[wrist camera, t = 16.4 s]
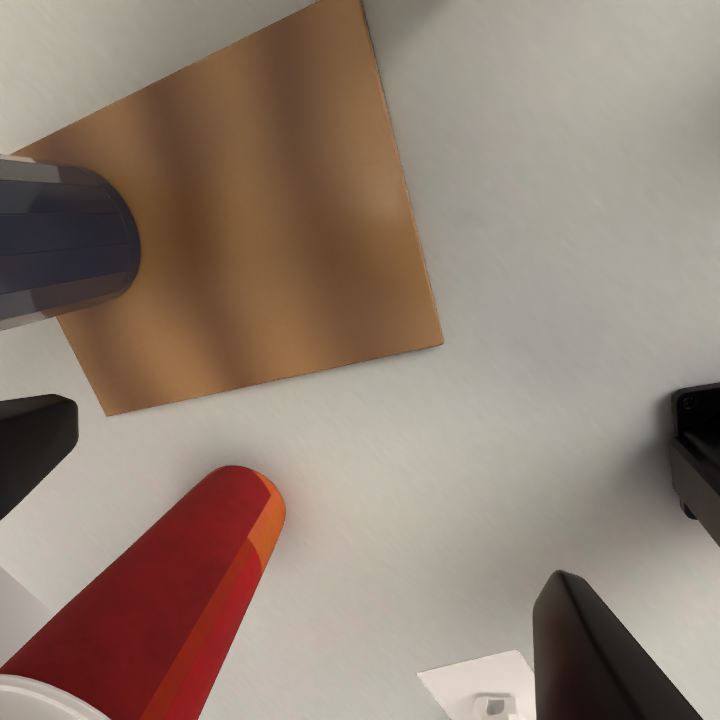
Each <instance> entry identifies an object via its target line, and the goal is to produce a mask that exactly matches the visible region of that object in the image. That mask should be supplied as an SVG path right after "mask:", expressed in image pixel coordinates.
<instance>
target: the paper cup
mask: <svg viewBox="0 0 720 720" xmlns="http://www.w3.org/2000/svg"><path fill="white" fill-rule="evenodd" d="M284 521H285V505H284V502H283V499H282V497H281V495H280V493H279V491H278V490H277V489H276V487H275V486H274V485H273V484H272V483H271V482H270V481H269V480H268V479H267V478H265V477H264V476H263V475H261V474H260V473H258V472H256V471H254V470H251V469H249V468H245V467H241V466H225V467H221V468H218V469H216V470H215V471H213V472H211V473H210V474H209V475H208V476H206V477H205V478H204V479H203V480H202V481H201V482H199V483H198V484H197V485H196V486H195V487H194V488H193V489H192V490H190V491H189V492H188V493H187V494H186V495H185V496H184V497H183V498H182V499H181V500H180V501H179V502H177V503H176V504H175V505H174V506H173V507H172V508H171V509H170V510H169V511H168V512H167V513H166V514H165V515H163V516H162V517H161V518H160V519H159V520H158V521H157V522H156V523H155V524H154V525H153V526H152V527H151V528H150V529H149V530H147V531H146V532H145V533H144V534H143V535H142V536H141V537H140V538H139V539H138V540H137V541H136V542H135V543H134V544H132V545H131V546H130V547H129V548H128V549H127V550H126V551H125V552H124V553H123V554H122V555H121V556H119V557H118V558H117V559H116V560H115V561H114V562H113V563H112V564H111V565H110V566H108V567H107V568H106V569H105V570H104V571H103V572H102V573H101V574H100V575H99V576H97V577H96V578H95V579H94V580H93V581H92V582H91V583H90V584H89V585H88V586H86V587H85V588H84V589H83V590H82V591H81V592H80V593H79V594H78V595H76V596H75V597H74V598H73V599H72V600H71V601H70V602H69V603H68V604H67V605H65V606H64V607H63V608H62V609H61V610H60V611H59V612H58V613H57V614H56V615H55V616H54V617H53V618H52V619H51V620H50V621H49V622H48V623H47V624H46V625H45V626H44V627H43V628H42V629H41V630H39V632H37V633H36V635H34V636H33V637H32V638H31V639H30V640H29V641H28V642H27V643H26V644H25V645H24V646H23V647H22V648H21V649H20V650H19V651H18V652H17V653H16V654H15V655H14V656H13V657H11V658H10V659H9V660H8V661H7V662H6V663H5V664H4V665H3V666H2V667H1V668H0V720H198V718H199V716H200V714H201V711H202V709H203V707H204V705H205V702H206V700H207V698H208V696H209V693H210V691H211V689H212V687H213V685H214V682H215V680H216V678H217V676H218V673H219V671H220V669H221V667H222V664H223V662H224V660H225V658H226V655H227V653H228V651H229V649H230V647H231V644H232V642H233V640H234V638H235V635H236V633H237V631H238V629H239V626H240V624H241V622H242V620H243V617H244V615H245V613H246V611H247V608H248V606H249V604H250V602H251V599H252V597H253V595H254V593H255V590H256V588H257V586H258V584H259V581H260V579H261V577H262V574H263V572H264V570H265V568H266V565H267V563H268V561H269V558H270V556H271V554H272V552H273V549H274V547H275V544H276V542H277V540H278V537H279V535H280V532H281V530H282V527H283V524H284Z"/></svg>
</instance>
